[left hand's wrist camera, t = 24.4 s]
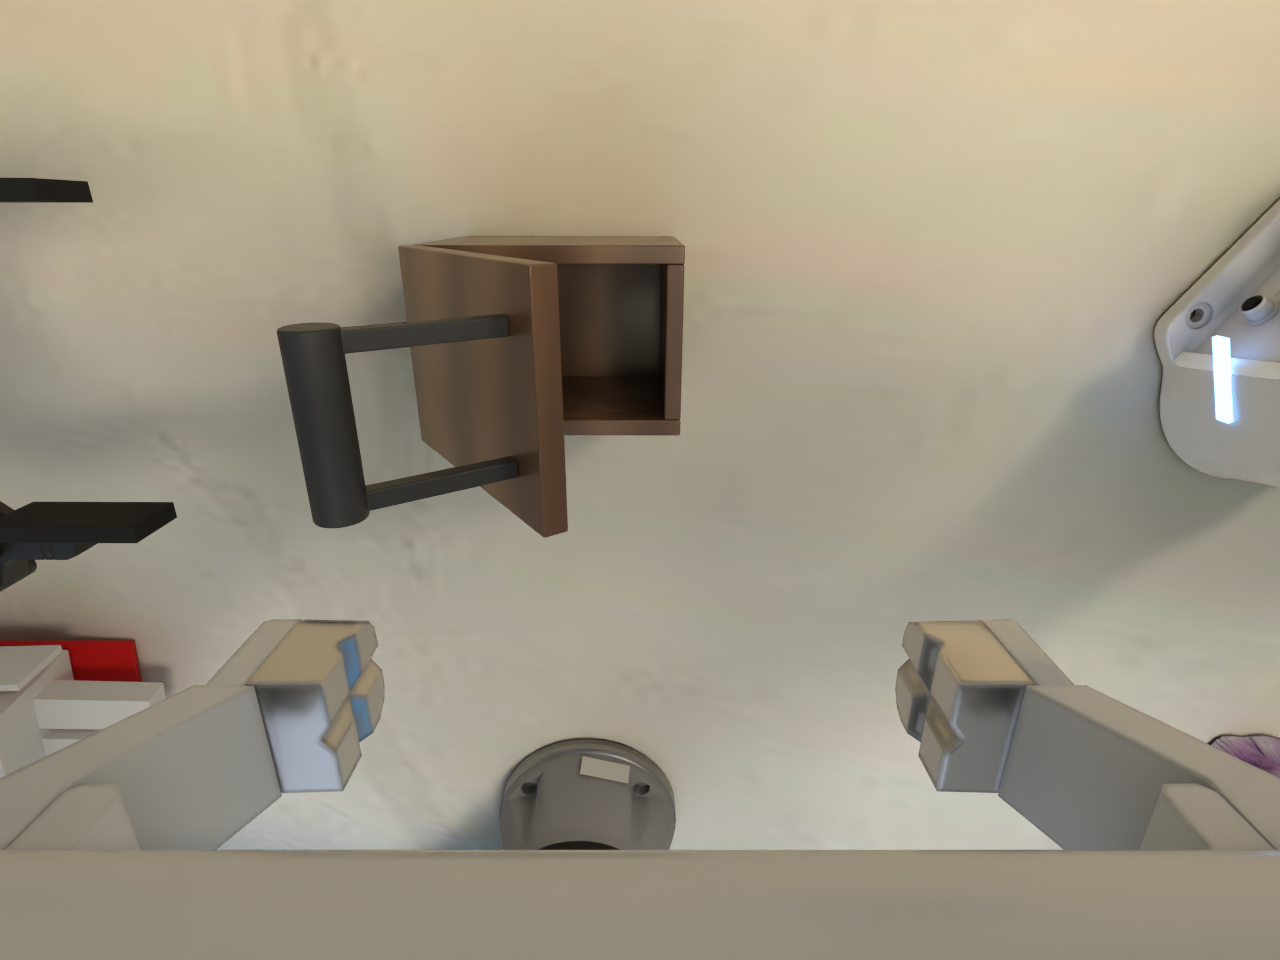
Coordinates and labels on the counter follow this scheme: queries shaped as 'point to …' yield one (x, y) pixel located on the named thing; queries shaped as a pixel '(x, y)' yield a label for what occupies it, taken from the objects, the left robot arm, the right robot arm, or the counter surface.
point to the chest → (610, 326)
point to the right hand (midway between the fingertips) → (114, 370)
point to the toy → (65, 694)
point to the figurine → (1253, 751)
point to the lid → (445, 389)
